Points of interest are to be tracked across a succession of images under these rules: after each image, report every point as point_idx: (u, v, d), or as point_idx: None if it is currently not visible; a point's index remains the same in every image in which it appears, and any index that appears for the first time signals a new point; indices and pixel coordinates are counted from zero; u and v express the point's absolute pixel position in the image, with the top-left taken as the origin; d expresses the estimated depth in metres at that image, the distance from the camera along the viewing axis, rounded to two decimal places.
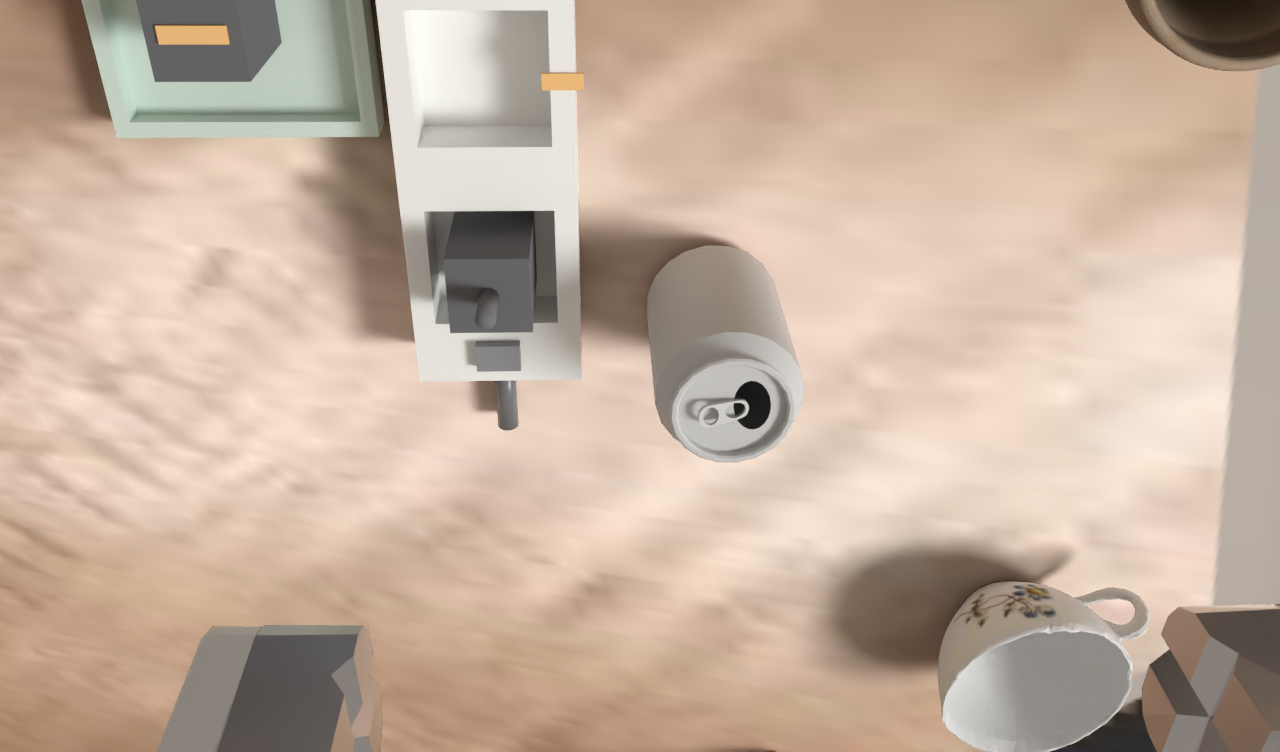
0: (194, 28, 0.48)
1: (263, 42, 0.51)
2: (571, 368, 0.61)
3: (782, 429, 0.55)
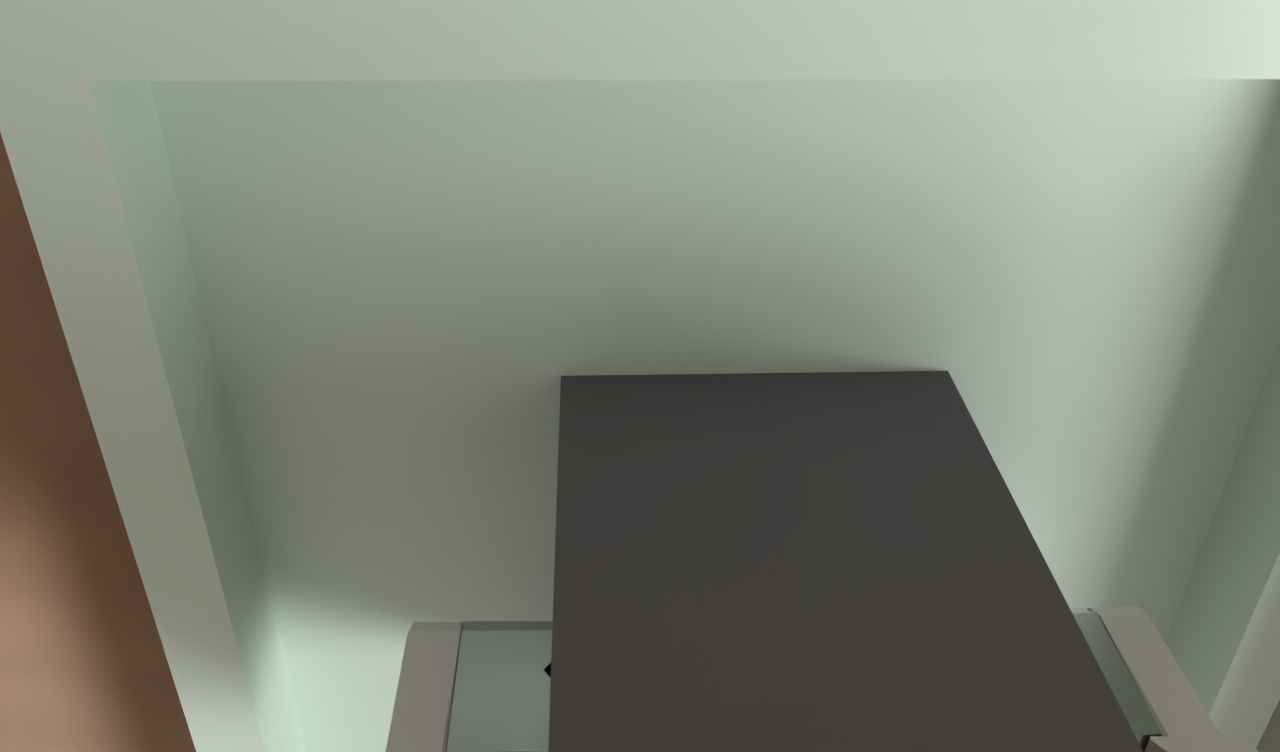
0: None
1: None
2: None
3: None
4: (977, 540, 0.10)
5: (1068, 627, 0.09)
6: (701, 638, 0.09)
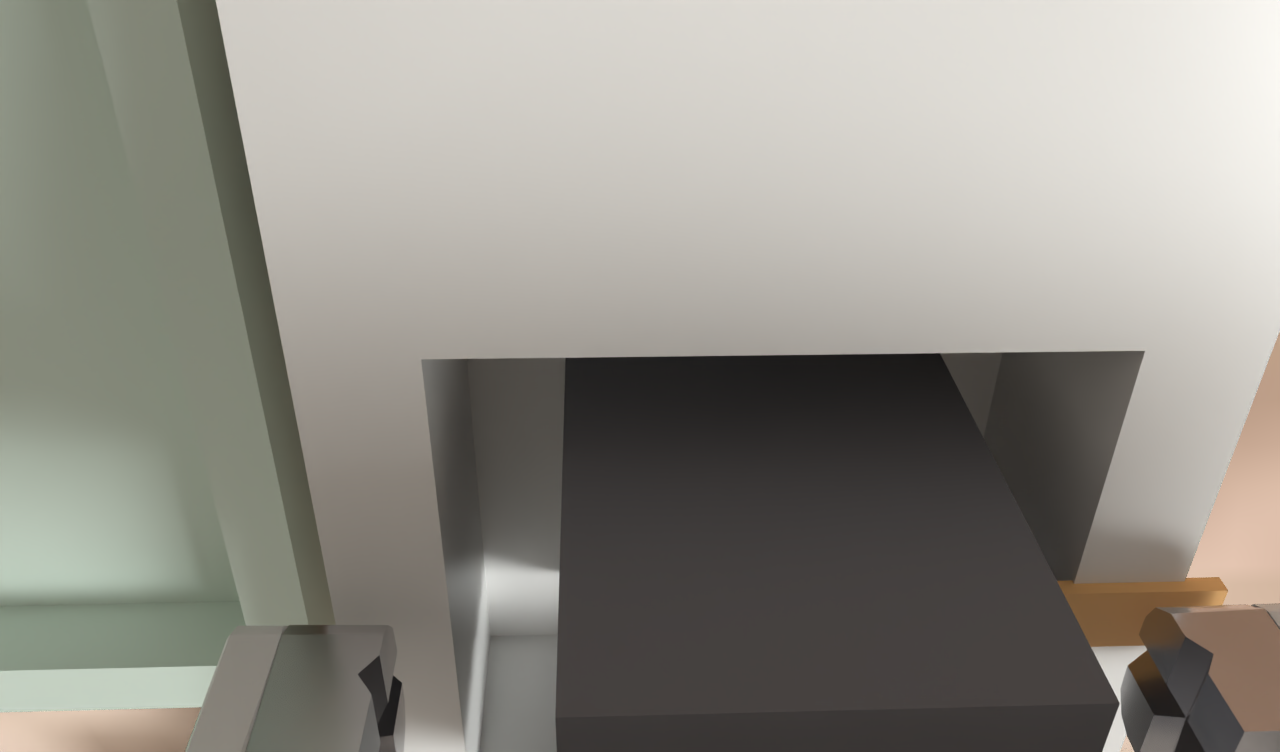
0: None
1: None
2: None
3: None
4: (936, 444, 0.11)
5: (1011, 512, 0.10)
6: (691, 520, 0.10)
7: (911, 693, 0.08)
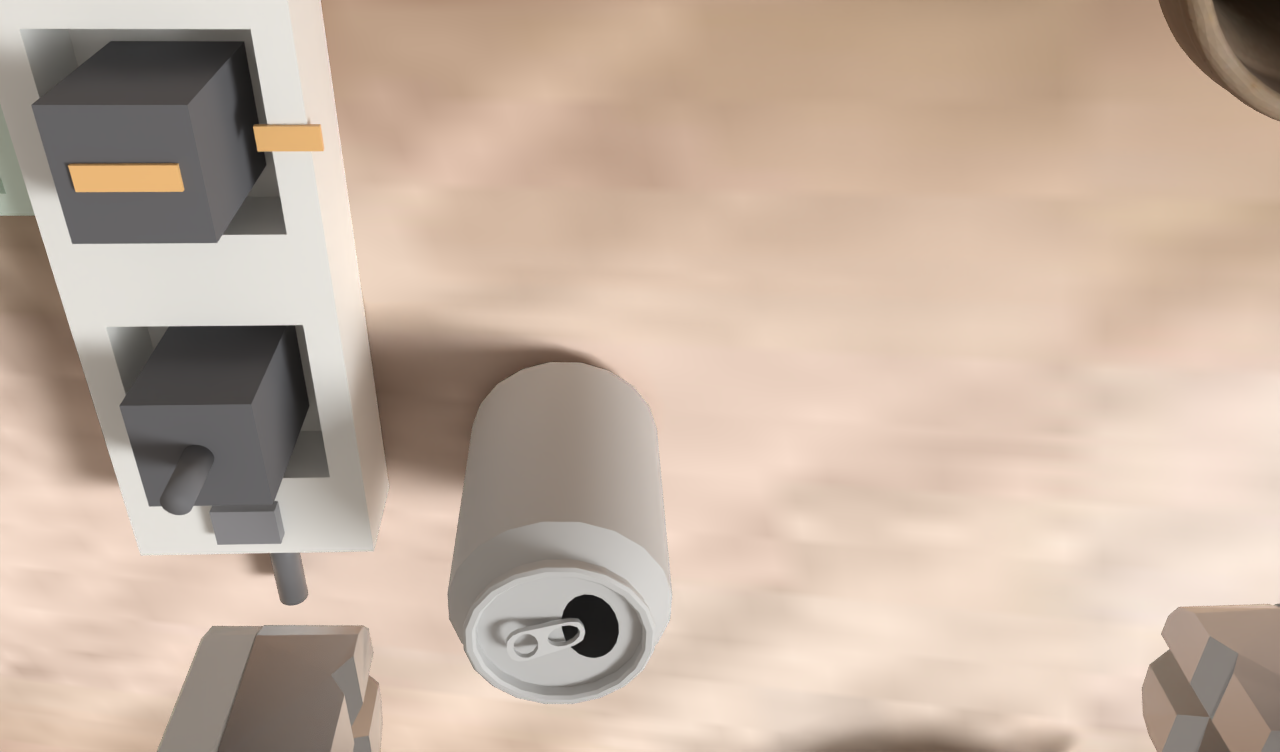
0: (130, 168, 0.31)
1: (238, 175, 0.35)
2: (357, 537, 0.43)
3: (637, 661, 0.36)
4: (203, 68, 0.33)
5: (207, 79, 0.32)
6: (104, 79, 0.32)
7: (132, 103, 0.30)
